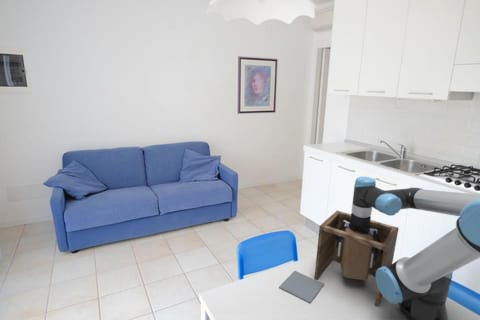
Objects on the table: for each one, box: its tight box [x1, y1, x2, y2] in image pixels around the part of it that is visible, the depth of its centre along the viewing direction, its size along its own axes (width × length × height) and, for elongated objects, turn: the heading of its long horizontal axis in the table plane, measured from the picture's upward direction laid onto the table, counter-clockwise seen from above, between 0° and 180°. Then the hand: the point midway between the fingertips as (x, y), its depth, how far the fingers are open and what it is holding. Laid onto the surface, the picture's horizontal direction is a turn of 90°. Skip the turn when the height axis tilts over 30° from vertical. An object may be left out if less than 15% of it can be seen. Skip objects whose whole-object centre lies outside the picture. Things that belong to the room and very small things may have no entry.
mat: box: [278, 270, 325, 304], centre depth 122 cm, size 14×14×1 cm
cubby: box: [313, 210, 400, 308], centre depth 123 cm, size 26×20×26 cm
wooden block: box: [339, 225, 373, 281], centre depth 123 cm, size 10×10×20 cm
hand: (354, 260), depth 124 cm, fingers open, 13 cm apart
